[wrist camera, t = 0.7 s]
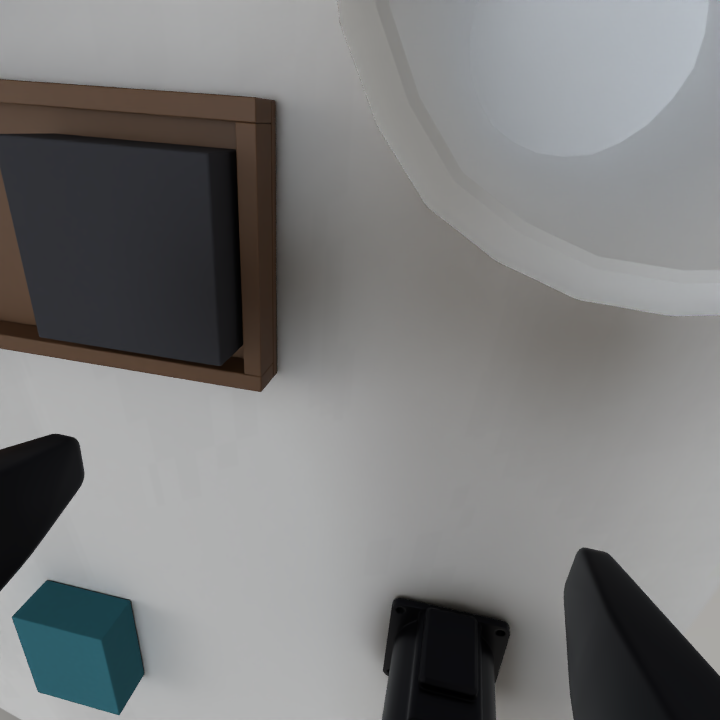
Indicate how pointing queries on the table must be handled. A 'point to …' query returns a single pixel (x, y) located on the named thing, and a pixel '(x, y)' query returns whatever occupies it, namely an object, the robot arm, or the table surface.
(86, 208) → the charcoal pad
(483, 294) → the table surface
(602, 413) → the table surface
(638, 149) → the cup
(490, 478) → the table surface
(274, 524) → the table surface
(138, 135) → the backing tray
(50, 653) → the teal pad
